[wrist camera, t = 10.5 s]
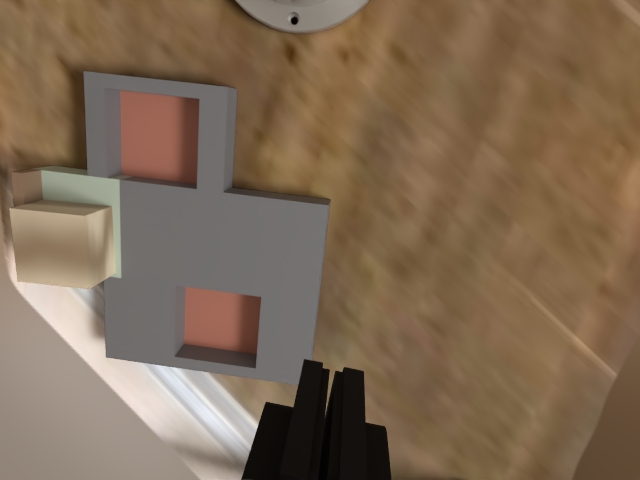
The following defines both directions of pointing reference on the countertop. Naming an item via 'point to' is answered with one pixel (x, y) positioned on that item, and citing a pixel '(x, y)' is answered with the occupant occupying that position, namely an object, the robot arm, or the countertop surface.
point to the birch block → (63, 243)
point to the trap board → (191, 233)
